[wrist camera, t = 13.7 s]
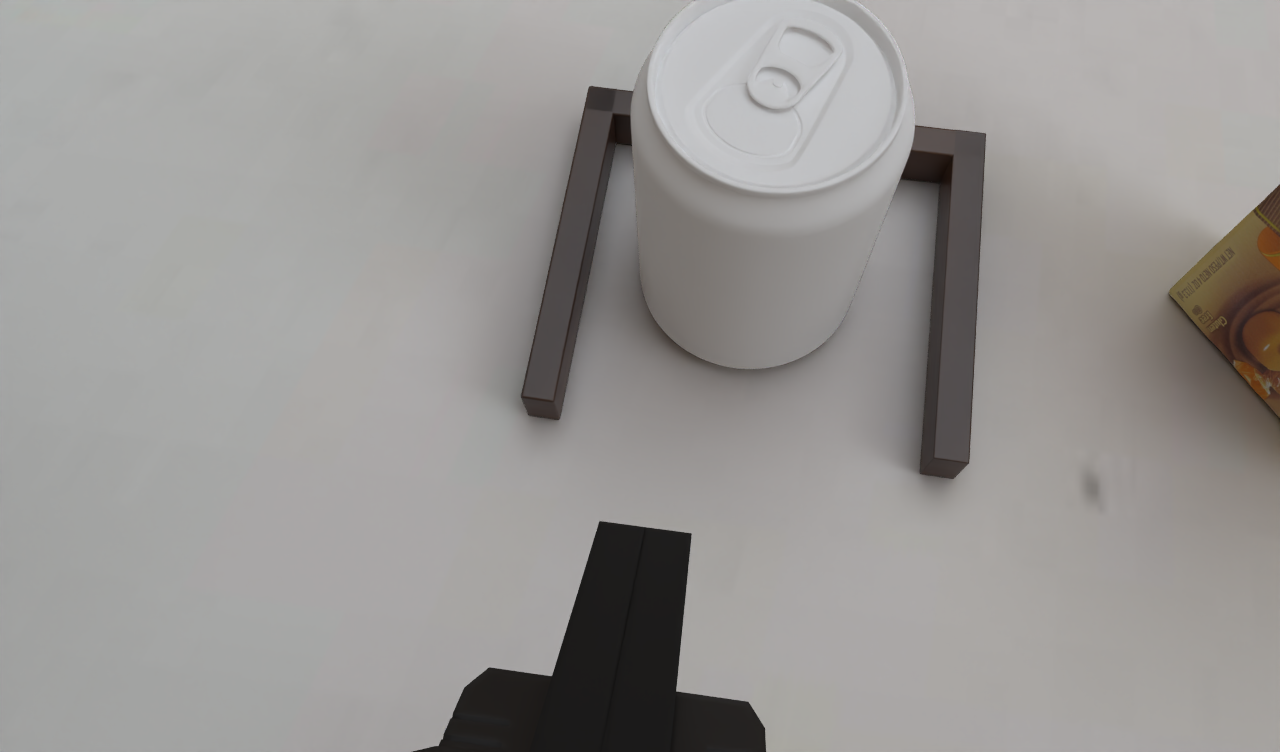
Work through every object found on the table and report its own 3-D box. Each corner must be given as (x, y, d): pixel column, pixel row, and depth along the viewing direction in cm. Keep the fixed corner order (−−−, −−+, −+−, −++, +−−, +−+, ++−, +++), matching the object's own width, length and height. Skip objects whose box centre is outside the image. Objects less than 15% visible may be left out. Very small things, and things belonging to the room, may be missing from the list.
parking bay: (527, 415, 37) (520, 397, 35) (592, 115, 42) (588, 85, 40) (953, 479, 36) (969, 463, 34) (971, 162, 40) (986, 132, 38)
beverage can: (599, 305, 38) (570, 117, 27) (713, 152, 41) (729, -79, 29) (782, 416, 37) (831, 263, 25) (890, 250, 39) (979, 42, 28)
